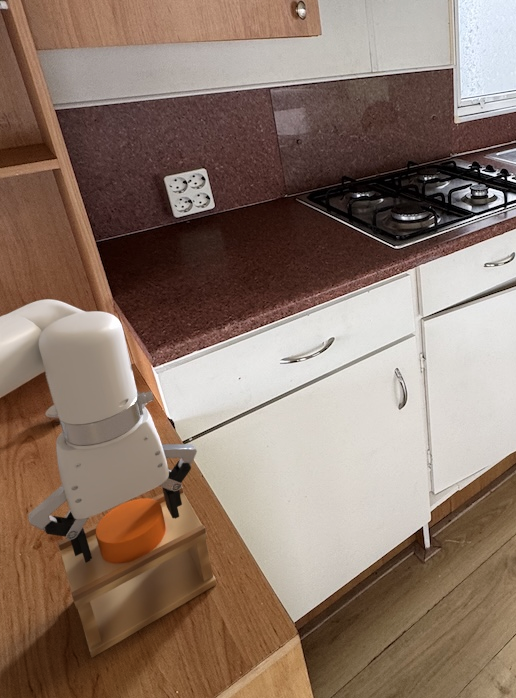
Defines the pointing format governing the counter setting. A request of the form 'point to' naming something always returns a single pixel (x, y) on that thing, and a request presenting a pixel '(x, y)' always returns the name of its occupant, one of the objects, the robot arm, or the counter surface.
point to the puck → (130, 530)
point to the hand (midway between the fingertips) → (131, 532)
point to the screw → (52, 410)
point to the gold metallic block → (138, 579)
